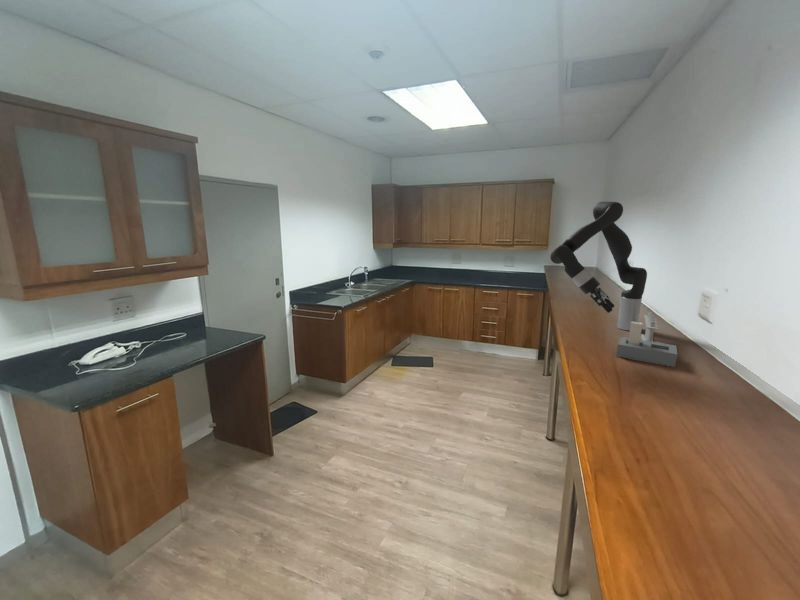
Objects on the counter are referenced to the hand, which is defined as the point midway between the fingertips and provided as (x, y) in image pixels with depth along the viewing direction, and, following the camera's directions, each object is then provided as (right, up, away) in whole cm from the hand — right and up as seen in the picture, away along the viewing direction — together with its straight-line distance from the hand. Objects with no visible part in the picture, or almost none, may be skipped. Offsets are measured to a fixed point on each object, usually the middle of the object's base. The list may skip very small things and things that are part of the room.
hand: (611, 309), depth 152 cm
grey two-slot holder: (+12, -20, -4) cm, 24 cm away
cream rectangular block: (+8, -18, -2) cm, 20 cm away
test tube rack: (+25, -17, +13) cm, 32 cm away
